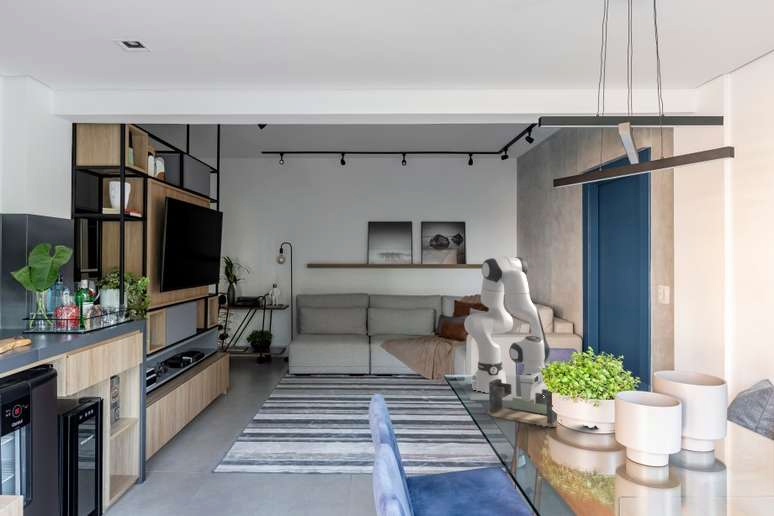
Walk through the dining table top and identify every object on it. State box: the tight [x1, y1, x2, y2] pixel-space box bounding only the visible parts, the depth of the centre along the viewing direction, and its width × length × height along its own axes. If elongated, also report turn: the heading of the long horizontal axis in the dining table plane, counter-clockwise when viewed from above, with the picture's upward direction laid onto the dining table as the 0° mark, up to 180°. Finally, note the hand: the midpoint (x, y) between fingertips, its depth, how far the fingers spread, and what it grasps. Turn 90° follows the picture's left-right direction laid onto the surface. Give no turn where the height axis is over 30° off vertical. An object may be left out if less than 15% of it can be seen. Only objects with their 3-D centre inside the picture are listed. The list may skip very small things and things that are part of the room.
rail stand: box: [487, 379, 557, 428], centre depth 206 cm, size 29×8×14 cm, turn 50°
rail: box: [511, 395, 547, 415], centre depth 215 cm, size 20×3×5 cm, turn 51°
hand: (535, 406), depth 215 cm, fingers closed on rail, 3 cm apart
